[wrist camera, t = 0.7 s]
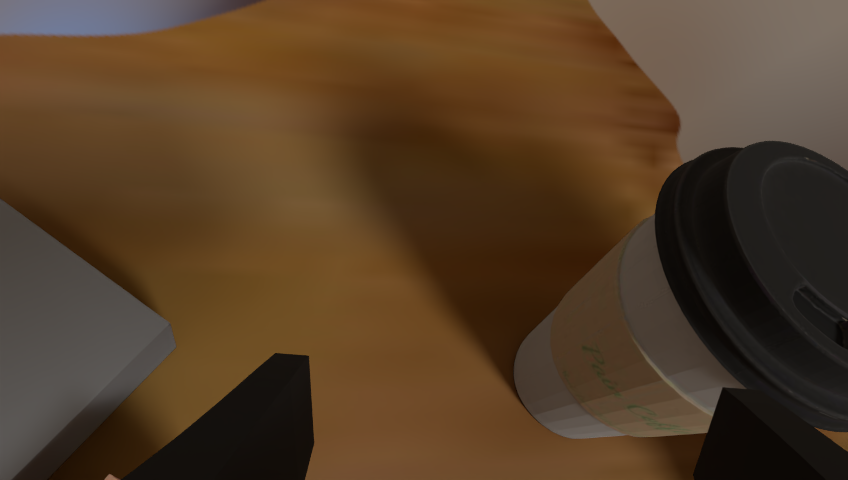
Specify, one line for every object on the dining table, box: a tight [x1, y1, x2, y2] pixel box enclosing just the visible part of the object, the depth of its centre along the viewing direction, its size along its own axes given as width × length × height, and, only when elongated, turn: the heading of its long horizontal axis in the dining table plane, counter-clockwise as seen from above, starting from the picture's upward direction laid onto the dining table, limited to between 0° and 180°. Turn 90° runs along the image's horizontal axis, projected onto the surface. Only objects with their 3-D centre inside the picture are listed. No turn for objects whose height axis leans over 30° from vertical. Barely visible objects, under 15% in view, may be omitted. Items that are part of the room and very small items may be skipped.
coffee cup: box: [514, 141, 848, 438], centre depth 21 cm, size 9×9×15 cm
